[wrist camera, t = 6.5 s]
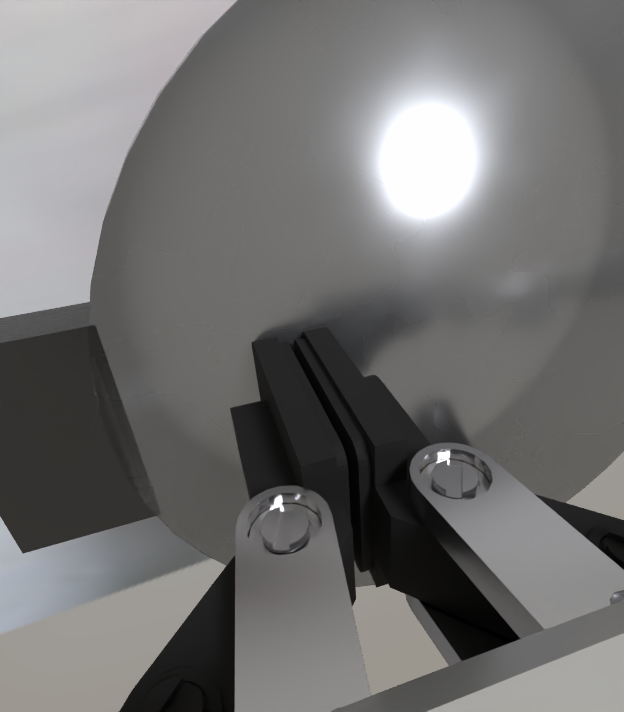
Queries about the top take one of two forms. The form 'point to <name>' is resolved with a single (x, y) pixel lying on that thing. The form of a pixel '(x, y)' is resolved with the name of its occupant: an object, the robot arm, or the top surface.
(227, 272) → the cooker lid
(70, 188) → the top surface
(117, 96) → the top surface
